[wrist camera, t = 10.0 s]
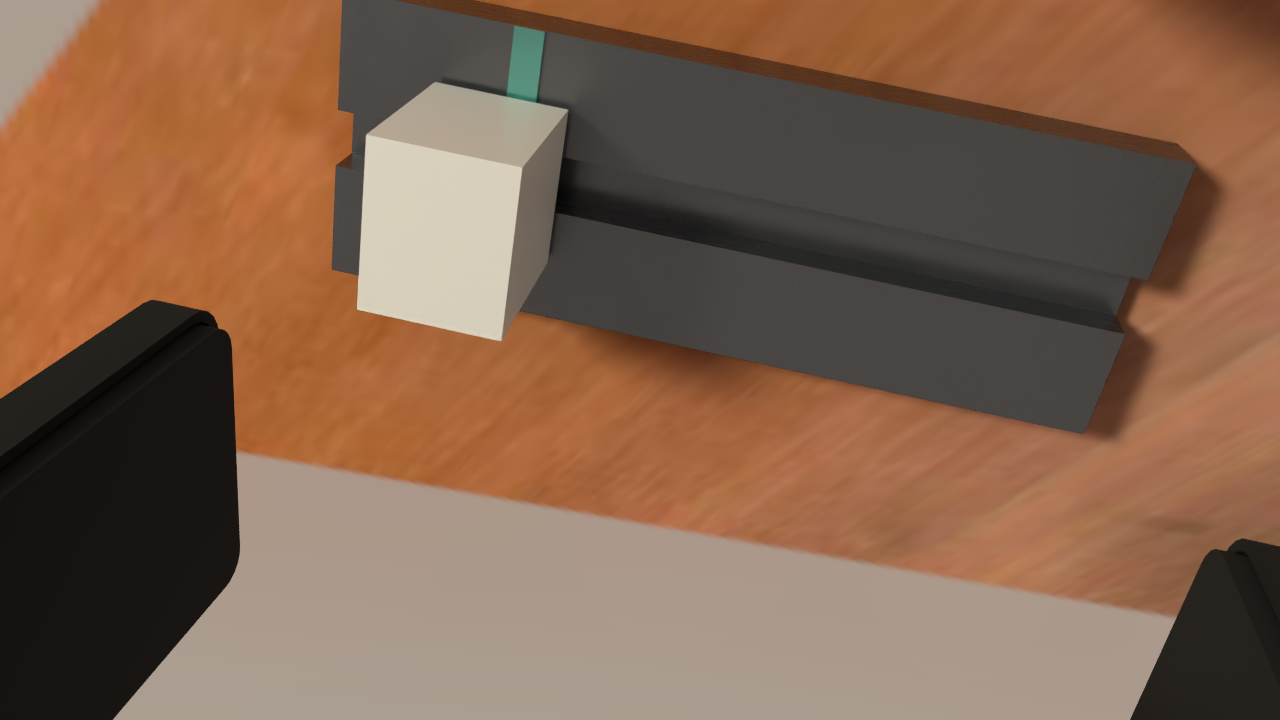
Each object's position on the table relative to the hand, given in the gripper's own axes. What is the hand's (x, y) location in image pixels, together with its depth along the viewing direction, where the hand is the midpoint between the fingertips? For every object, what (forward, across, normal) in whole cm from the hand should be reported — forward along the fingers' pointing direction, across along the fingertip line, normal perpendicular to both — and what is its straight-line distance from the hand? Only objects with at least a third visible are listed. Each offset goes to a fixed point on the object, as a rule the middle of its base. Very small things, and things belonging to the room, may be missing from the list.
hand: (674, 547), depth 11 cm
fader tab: (+21, +8, +4) cm, 22 cm away
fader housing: (+22, +2, +4) cm, 22 cm away
